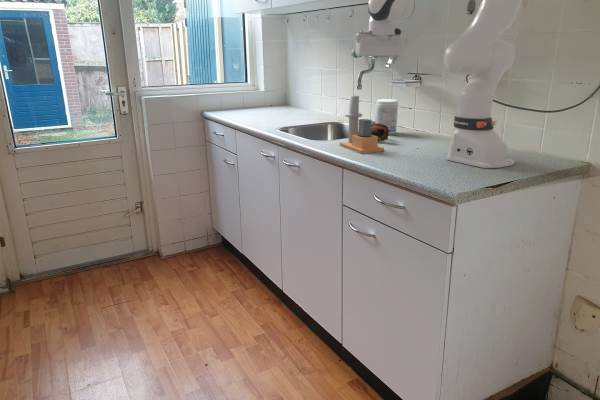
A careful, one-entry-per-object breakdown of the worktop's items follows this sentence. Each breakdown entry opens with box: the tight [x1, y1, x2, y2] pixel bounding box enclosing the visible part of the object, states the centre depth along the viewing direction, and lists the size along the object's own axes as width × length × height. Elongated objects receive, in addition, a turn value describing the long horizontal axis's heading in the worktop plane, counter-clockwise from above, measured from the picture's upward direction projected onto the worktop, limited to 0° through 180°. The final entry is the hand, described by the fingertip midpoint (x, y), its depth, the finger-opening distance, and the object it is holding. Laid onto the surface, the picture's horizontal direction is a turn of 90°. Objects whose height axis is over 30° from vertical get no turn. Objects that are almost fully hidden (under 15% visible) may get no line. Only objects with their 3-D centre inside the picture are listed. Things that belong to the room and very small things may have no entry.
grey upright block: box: [358, 118, 373, 138], centre depth 169 cm, size 4×4×10 cm
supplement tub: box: [374, 98, 399, 136], centre depth 200 cm, size 10×10×15 cm
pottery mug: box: [371, 122, 389, 142], centre depth 185 cm, size 12×10×8 cm
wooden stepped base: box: [339, 95, 385, 154], centre depth 170 cm, size 17×10×19 cm, turn 24°
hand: (378, 68), depth 177 cm, fingers open, 8 cm apart
